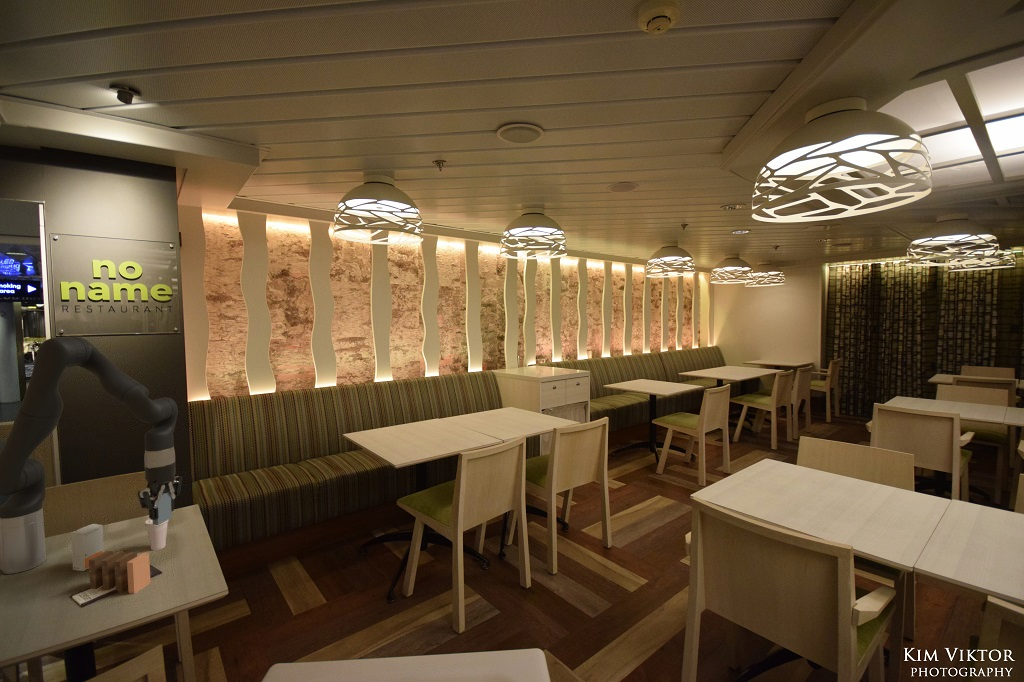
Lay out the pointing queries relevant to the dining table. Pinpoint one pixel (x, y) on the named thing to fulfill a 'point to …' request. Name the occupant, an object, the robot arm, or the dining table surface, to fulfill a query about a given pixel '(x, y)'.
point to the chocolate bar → (101, 591)
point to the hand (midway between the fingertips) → (162, 515)
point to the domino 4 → (163, 509)
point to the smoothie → (156, 534)
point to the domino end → (138, 573)
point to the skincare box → (86, 545)
